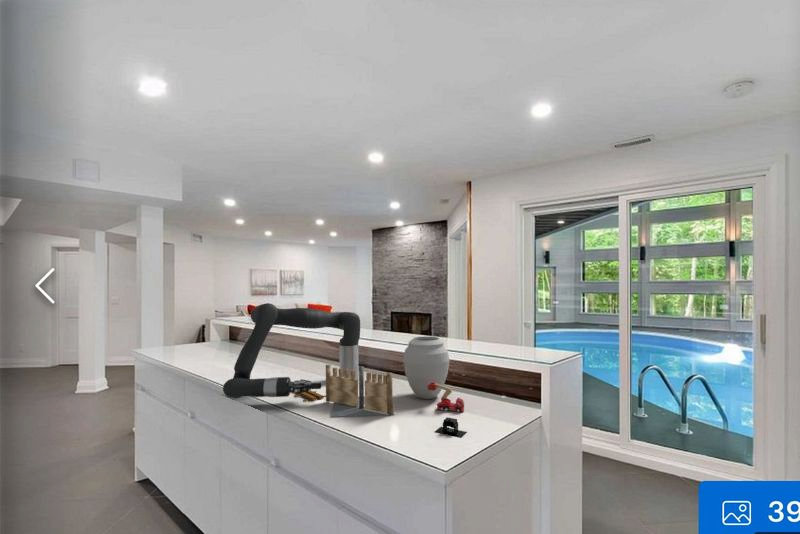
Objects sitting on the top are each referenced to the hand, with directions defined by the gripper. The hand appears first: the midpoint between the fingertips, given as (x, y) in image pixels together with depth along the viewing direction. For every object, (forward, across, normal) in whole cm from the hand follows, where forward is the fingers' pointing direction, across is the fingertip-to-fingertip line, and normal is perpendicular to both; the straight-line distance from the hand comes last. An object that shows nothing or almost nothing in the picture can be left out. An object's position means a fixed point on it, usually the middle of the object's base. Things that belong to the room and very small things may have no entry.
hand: (321, 385), depth 159 cm
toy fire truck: (+48, -13, +7) cm, 51 cm away
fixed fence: (+22, -13, +7) cm, 26 cm away
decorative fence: (-9, +14, +8) cm, 18 cm away
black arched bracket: (+46, -34, +8) cm, 58 cm away
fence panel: (+8, -3, +6) cm, 11 cm away
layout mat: (+17, -6, +7) cm, 19 cm away
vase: (+43, +4, +7) cm, 44 cm away
